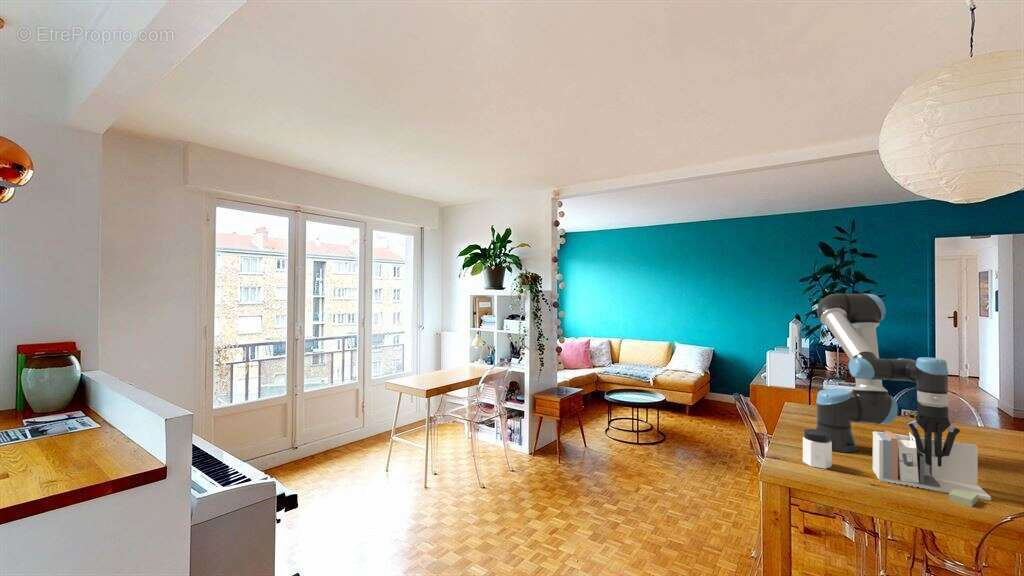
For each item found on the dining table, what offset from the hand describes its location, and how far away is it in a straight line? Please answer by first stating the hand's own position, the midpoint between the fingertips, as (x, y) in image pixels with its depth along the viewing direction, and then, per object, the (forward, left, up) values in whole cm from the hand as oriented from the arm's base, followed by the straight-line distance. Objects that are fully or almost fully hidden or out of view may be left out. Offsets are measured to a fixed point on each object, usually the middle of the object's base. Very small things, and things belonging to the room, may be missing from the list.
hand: (933, 475), depth 146 cm
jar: (-32, +2, -4) cm, 32 cm away
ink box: (-7, 0, -3) cm, 7 cm away
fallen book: (+5, -9, -4) cm, 11 cm away
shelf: (-1, +1, -4) cm, 4 cm away
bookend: (-2, 0, -2) cm, 3 cm away
